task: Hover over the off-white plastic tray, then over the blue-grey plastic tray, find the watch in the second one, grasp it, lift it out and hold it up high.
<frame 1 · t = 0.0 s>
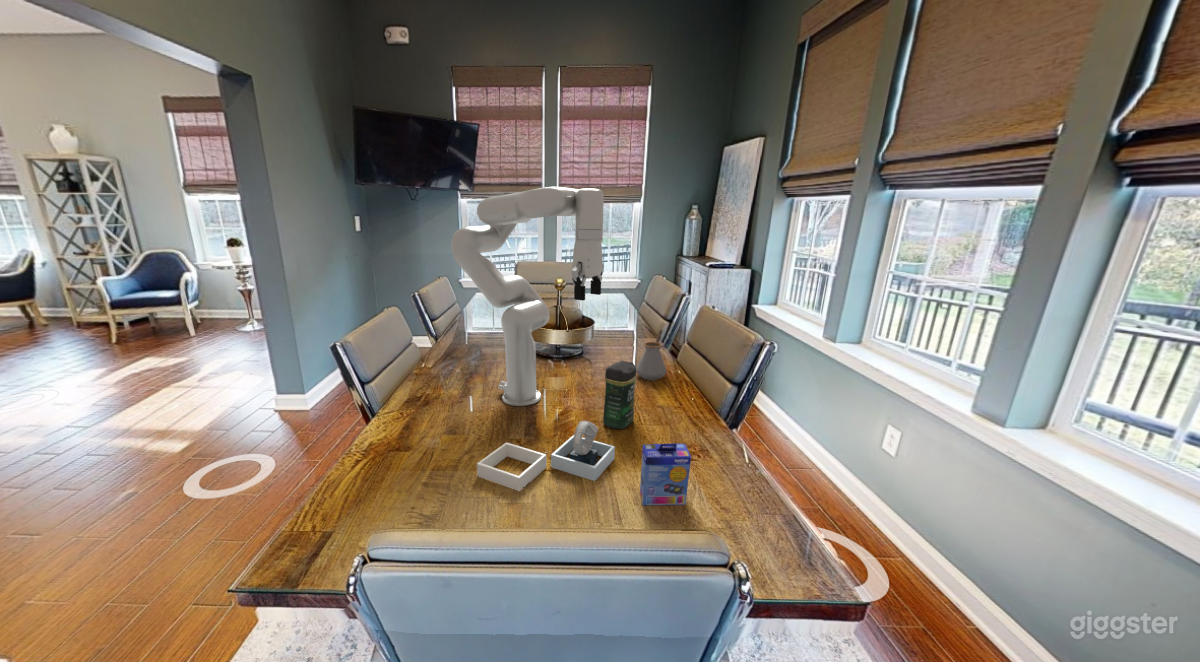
hand: (587, 296, 127), 37 cm above the table, tool pointing down, fingers open, 9 cm apart
coffee jar: (618, 423, 132), on the table
ink cartridge box: (662, 499, 98), on the table
coffee pot: (653, 372, 173), on the table
tray far: (583, 462, 111), on the table
tray near: (512, 471, 106), on the table
watch: (583, 463, 111), resting in tray far
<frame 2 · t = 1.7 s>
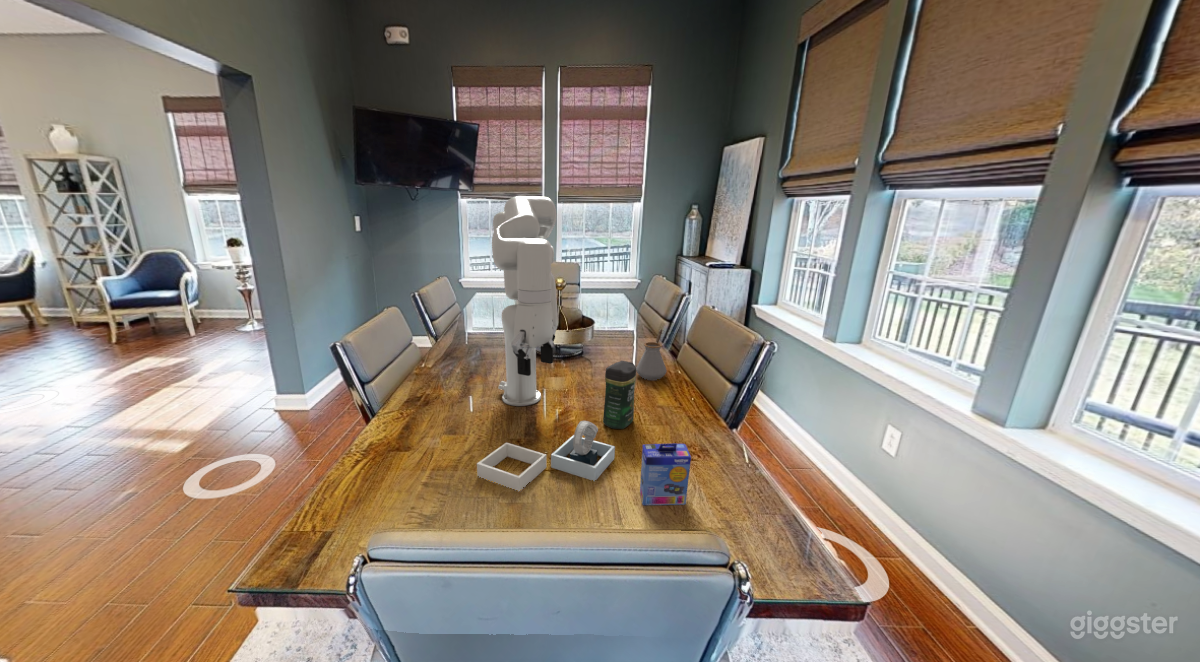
hand: (536, 368, 105), 25 cm above the table, tool pointing down, fingers open, 9 cm apart
nothing on the table moved.
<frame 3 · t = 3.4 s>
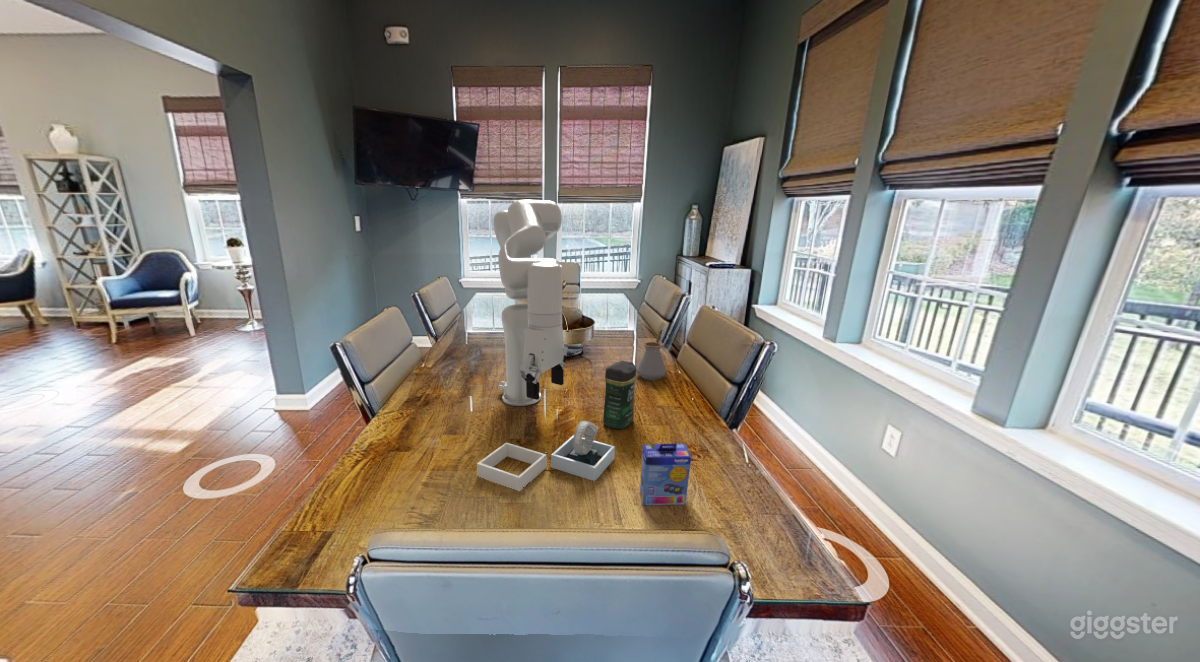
hand: (545, 390, 103), 20 cm above the table, tool pointing down, fingers open, 9 cm apart
nothing on the table moved.
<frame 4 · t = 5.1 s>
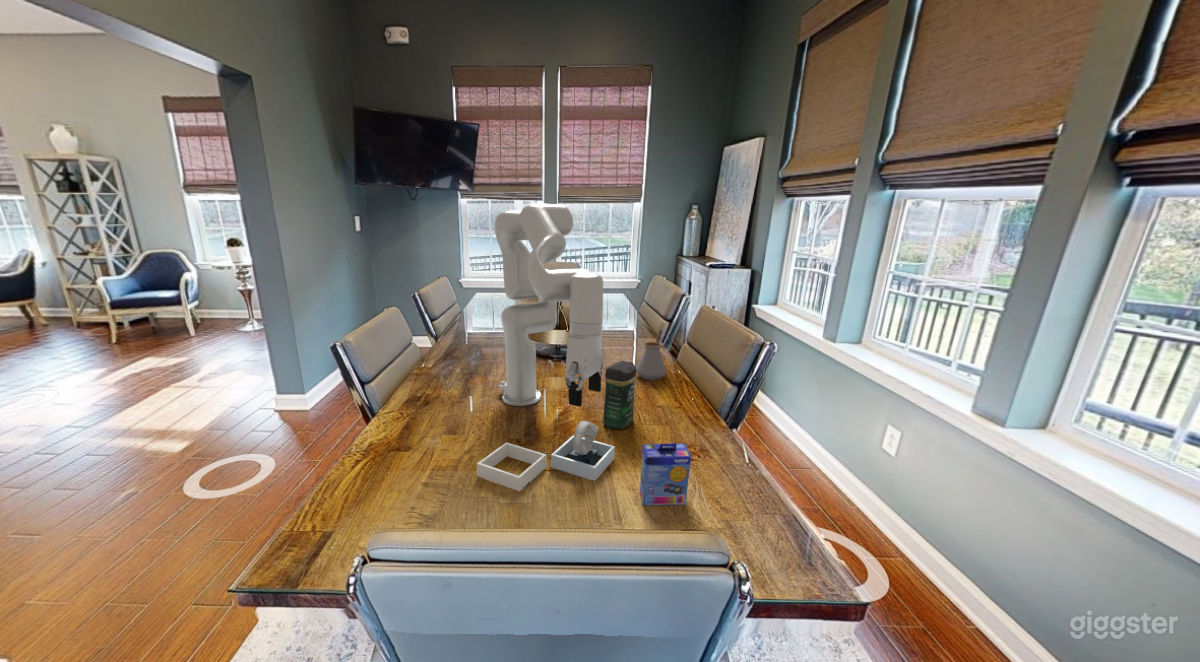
hand: (585, 397, 106), 18 cm above the table, tool pointing down, fingers open, 9 cm apart
nothing on the table moved.
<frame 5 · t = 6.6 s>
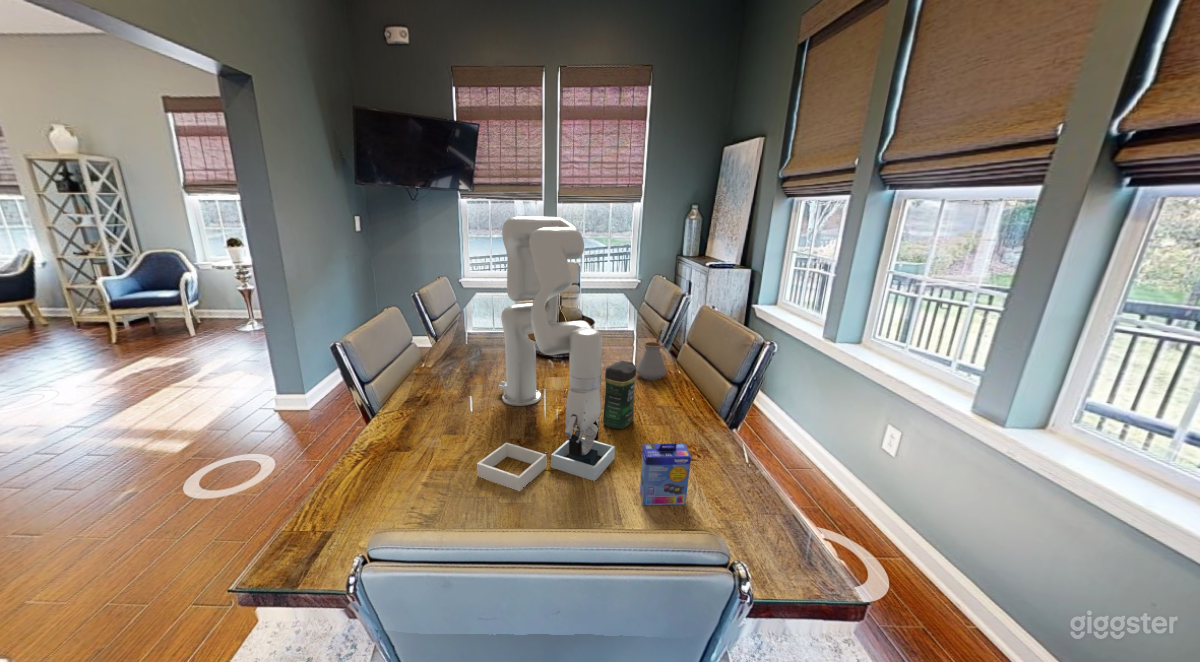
hand: (584, 446, 110), 5 cm above the table, tool pointing down, fingers closed on watch, 8 cm apart
watch: (583, 463, 111), resting in tray far, touching gripper
everything else where it was.
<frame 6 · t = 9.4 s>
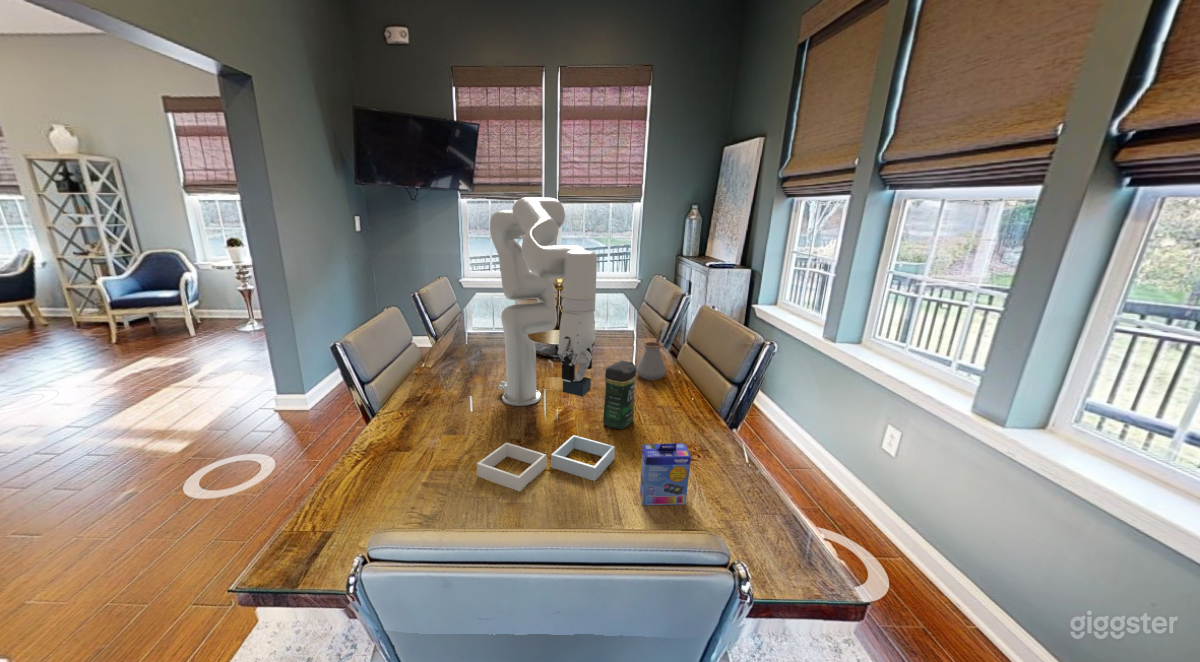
hand: (577, 373, 109), 22 cm above the table, tool pointing down, fingers closed on watch, 8 cm apart
watch: (576, 391, 110), point 17 cm above the table, touching gripper
everything else where it was.
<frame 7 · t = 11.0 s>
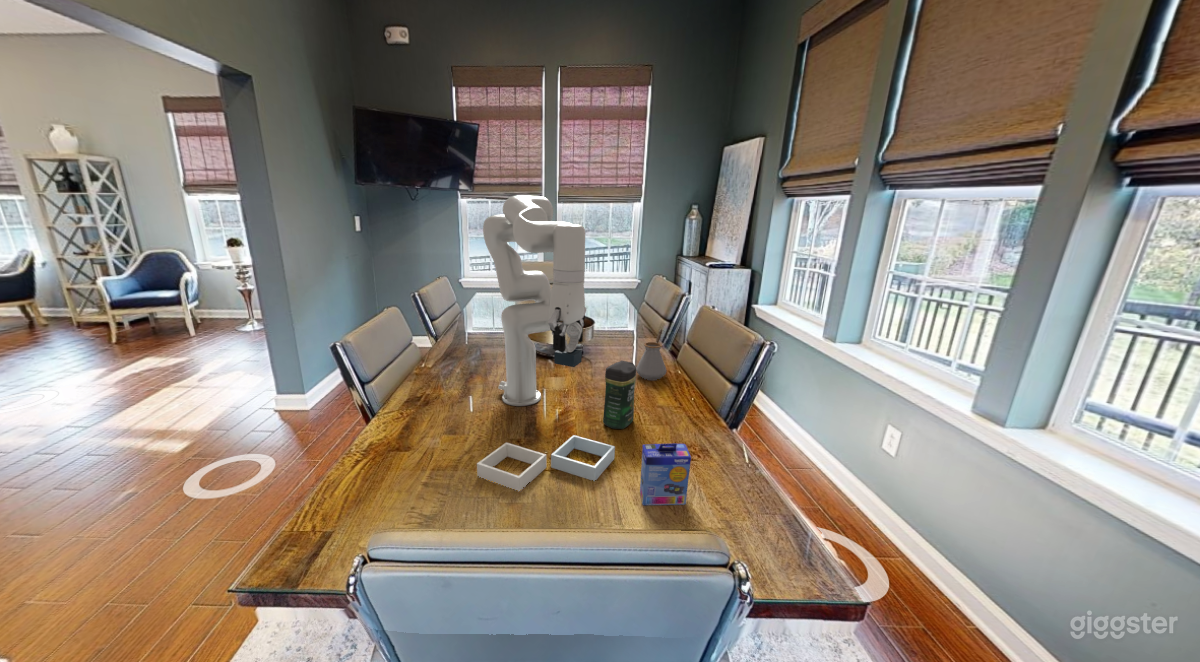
hand: (568, 345, 112), 28 cm above the table, tool pointing down, fingers closed on watch, 8 cm apart
watch: (568, 363, 113), point 23 cm above the table, touching gripper
everything else where it was.
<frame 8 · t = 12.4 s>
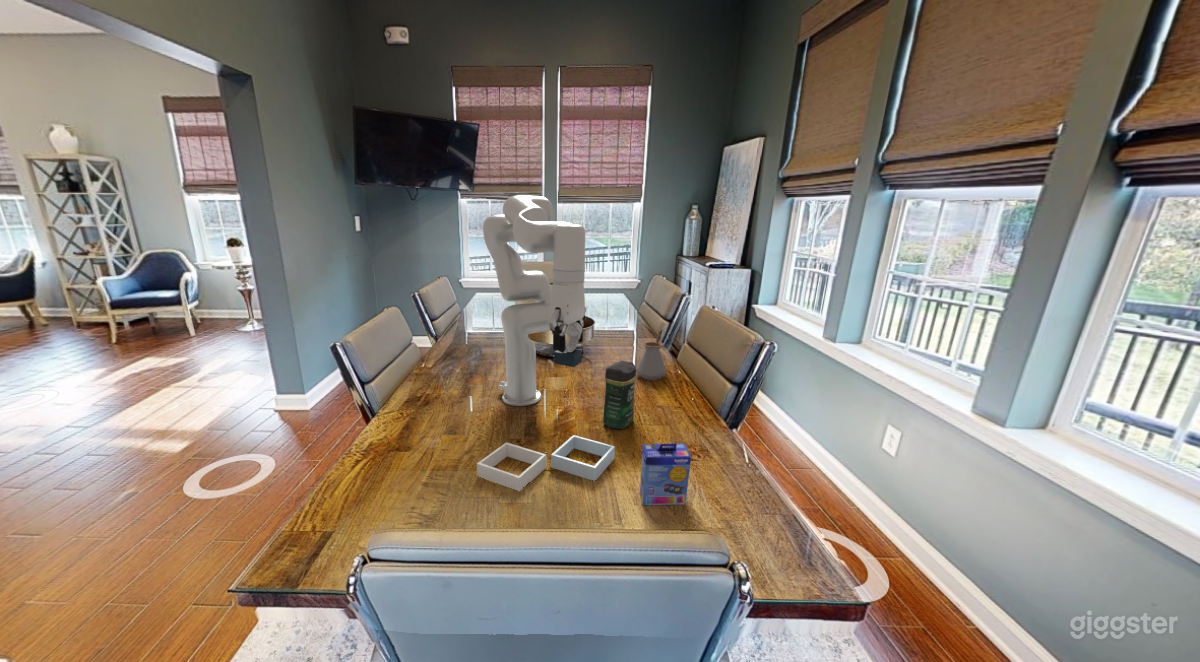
hand: (568, 345, 112), 28 cm above the table, tool pointing down, fingers closed on watch, 8 cm apart
watch: (568, 363, 113), point 23 cm above the table, touching gripper
everything else where it was.
at the end: the gripper is holding watch; watch point 23.0 cm above the table; watch moved 25.1 cm from its start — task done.
